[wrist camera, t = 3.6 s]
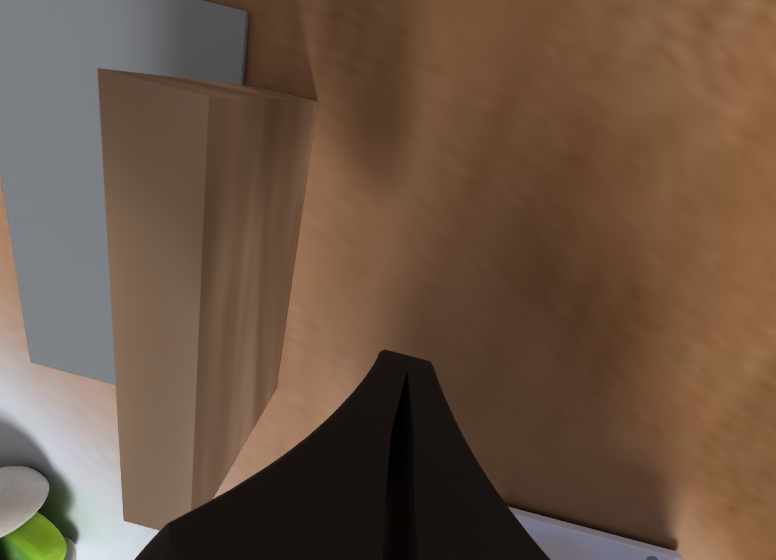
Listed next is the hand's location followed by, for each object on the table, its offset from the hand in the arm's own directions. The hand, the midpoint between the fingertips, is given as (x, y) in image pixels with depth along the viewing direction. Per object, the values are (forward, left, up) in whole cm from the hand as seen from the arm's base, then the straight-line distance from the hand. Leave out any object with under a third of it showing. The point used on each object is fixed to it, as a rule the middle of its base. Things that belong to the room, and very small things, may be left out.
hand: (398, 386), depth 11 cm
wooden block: (+6, 0, -6) cm, 8 cm away
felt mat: (+12, 0, -5) cm, 13 cm away
